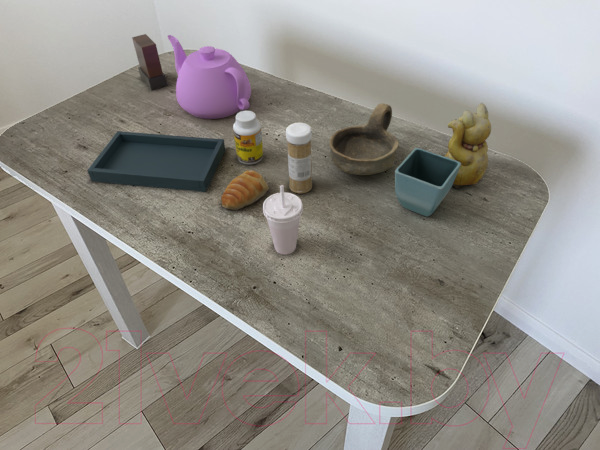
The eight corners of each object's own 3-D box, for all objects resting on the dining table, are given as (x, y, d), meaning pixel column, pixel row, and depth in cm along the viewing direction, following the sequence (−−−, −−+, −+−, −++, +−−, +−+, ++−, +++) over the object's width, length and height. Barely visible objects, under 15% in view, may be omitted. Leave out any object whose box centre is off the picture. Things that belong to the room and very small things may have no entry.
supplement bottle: (232, 161, 101) (225, 118, 94) (246, 147, 104) (241, 105, 97) (254, 168, 99) (249, 126, 91) (268, 154, 102) (265, 112, 95)
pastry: (239, 218, 88) (237, 202, 86) (213, 204, 91) (209, 189, 89) (271, 190, 94) (270, 175, 91) (245, 178, 97) (242, 163, 94)
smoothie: (268, 262, 80) (262, 199, 71) (264, 235, 85) (258, 173, 75) (306, 257, 81) (305, 194, 71) (300, 231, 86) (298, 168, 76)
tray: (91, 181, 97) (87, 170, 95) (121, 141, 107) (117, 130, 105) (206, 192, 94) (203, 181, 92) (225, 150, 104) (223, 139, 102)
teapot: (274, 102, 117) (270, 47, 108) (222, 135, 108) (213, 78, 98) (203, 73, 129) (194, 21, 119) (151, 101, 119) (136, 47, 110)
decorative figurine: (458, 159, 99) (475, 93, 89) (493, 177, 95) (515, 110, 84) (429, 179, 95) (443, 112, 84) (464, 199, 90) (484, 131, 80)
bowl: (314, 172, 97) (314, 130, 90) (357, 131, 108) (360, 90, 101) (374, 196, 92) (379, 153, 85) (414, 151, 102) (421, 109, 95)
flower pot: (409, 184, 94) (415, 145, 88) (452, 200, 90) (462, 162, 84) (388, 209, 89) (393, 171, 83) (433, 228, 85) (442, 189, 79)
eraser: (140, 78, 128) (129, 37, 120) (156, 73, 129) (146, 32, 122) (151, 90, 123) (140, 48, 115) (167, 85, 125) (158, 44, 117)
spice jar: (311, 179, 96) (311, 120, 86) (312, 194, 93) (312, 135, 83) (288, 180, 96) (285, 121, 86) (288, 195, 93) (285, 136, 83)
